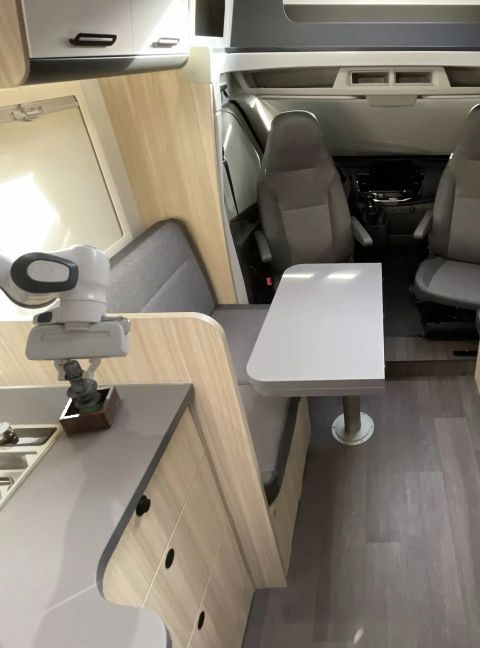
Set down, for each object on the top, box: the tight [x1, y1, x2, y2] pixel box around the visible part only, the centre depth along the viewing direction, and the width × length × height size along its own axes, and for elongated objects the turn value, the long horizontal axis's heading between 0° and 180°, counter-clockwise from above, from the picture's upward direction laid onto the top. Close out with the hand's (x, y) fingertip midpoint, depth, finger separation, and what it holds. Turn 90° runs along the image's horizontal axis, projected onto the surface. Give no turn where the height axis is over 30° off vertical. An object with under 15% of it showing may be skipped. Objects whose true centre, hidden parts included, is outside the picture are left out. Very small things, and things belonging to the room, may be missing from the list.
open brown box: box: [58, 384, 122, 436], centre depth 100 cm, size 9×9×5 cm
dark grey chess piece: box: [63, 359, 101, 409], centre depth 96 cm, size 6×6×12 cm
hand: (75, 380), depth 95 cm, fingers closed on dark grey chess piece, 3 cm apart
